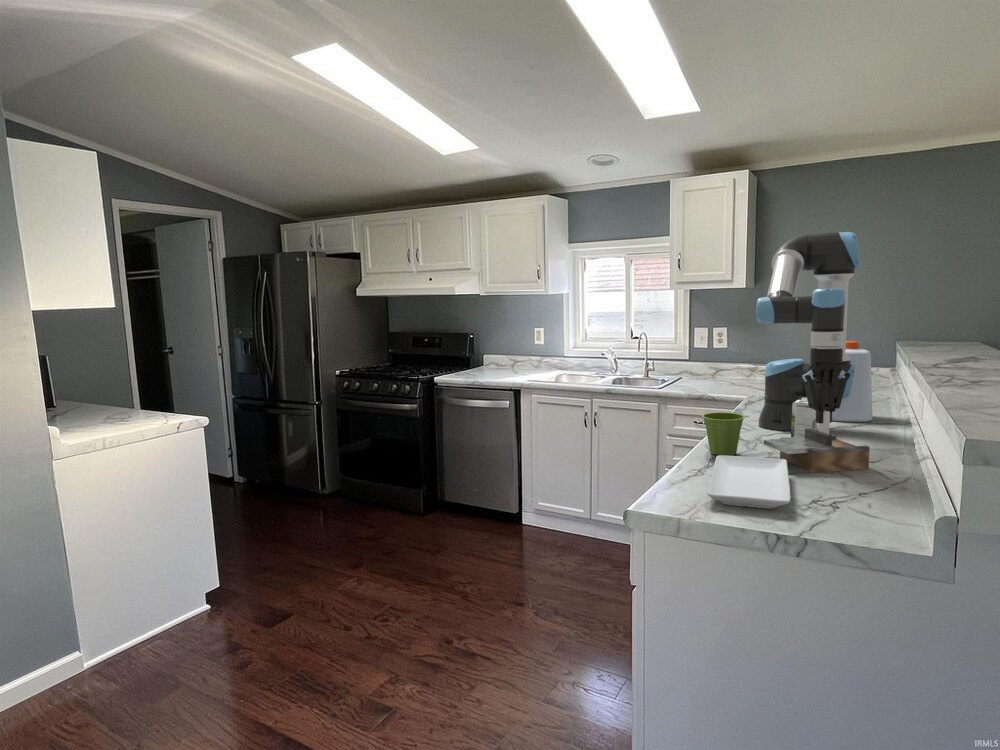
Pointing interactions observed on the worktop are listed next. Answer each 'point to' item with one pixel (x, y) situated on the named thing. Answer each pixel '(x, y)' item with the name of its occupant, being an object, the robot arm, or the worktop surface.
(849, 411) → the plastic bottle
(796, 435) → the syrup box
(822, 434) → the lid
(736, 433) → the plant pot
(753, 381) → the worktop surface
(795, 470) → the rubber mat
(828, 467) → the walnut box
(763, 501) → the tray
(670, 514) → the worktop surface
